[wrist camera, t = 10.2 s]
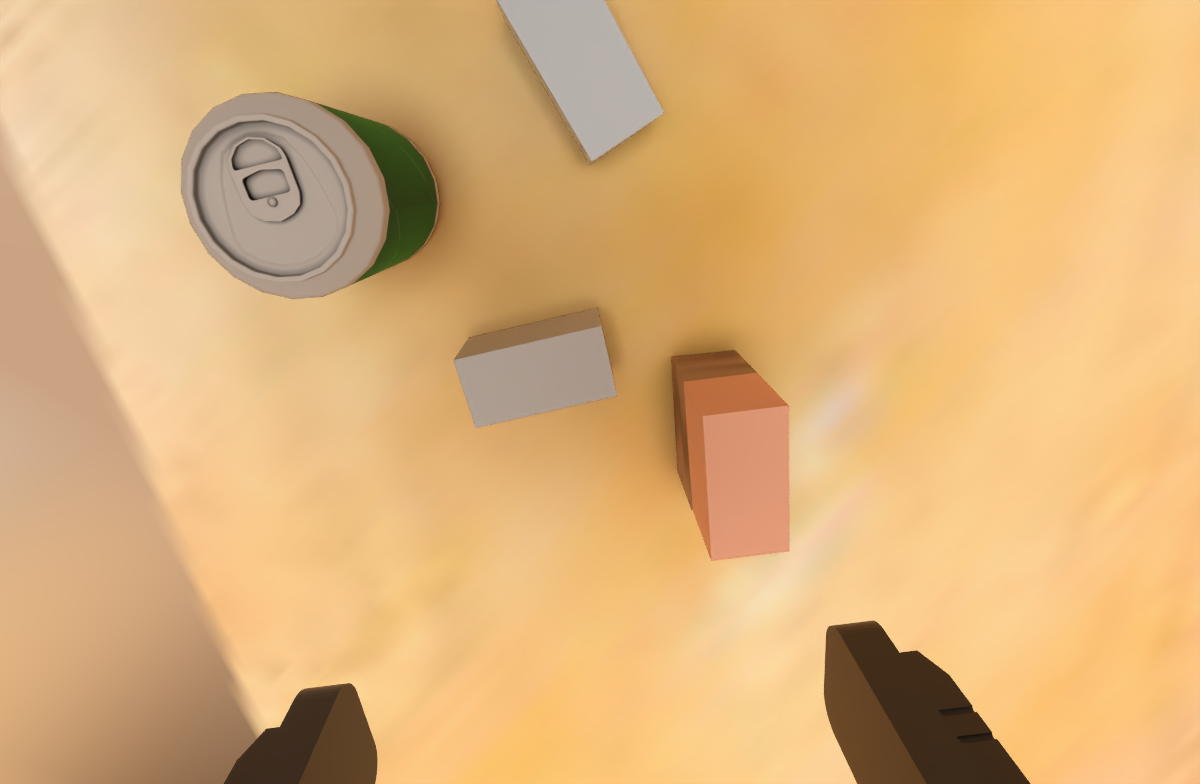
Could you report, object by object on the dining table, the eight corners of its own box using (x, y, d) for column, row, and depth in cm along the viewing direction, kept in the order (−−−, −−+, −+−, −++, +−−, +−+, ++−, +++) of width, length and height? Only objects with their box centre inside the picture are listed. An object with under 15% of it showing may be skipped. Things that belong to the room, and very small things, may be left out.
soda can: (418, 106, 31) (330, 62, 20) (461, 247, 34) (404, 279, 22) (284, 140, 31) (121, 115, 20) (336, 277, 34) (217, 324, 23)
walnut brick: (670, 356, 36) (685, 382, 32) (734, 350, 36) (758, 374, 32) (677, 470, 39) (691, 510, 34) (736, 464, 39) (758, 502, 34)
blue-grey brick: (506, 23, 30) (493, -7, 25) (571, -24, 30) (570, -64, 25) (589, 164, 33) (592, 161, 28) (651, 123, 32) (664, 112, 27)
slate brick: (488, 397, 37) (475, 427, 32) (469, 336, 36) (453, 360, 31) (611, 368, 37) (617, 395, 32) (597, 307, 35) (601, 326, 31)
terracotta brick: (683, 381, 32) (702, 416, 27) (756, 372, 32) (788, 405, 27) (692, 509, 34) (711, 560, 30) (759, 500, 34) (789, 551, 30)
